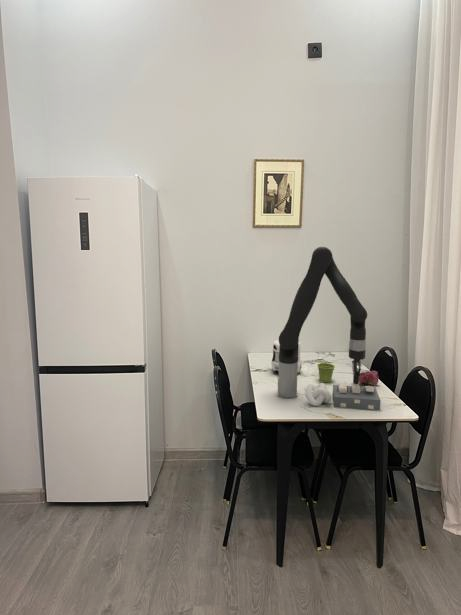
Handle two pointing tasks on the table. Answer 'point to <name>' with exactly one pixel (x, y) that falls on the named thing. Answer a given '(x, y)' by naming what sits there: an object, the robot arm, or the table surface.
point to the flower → (368, 377)
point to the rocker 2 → (355, 388)
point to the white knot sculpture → (317, 394)
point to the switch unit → (356, 399)
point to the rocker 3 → (369, 388)
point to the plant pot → (325, 372)
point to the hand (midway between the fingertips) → (355, 383)
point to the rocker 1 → (342, 387)
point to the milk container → (276, 357)
